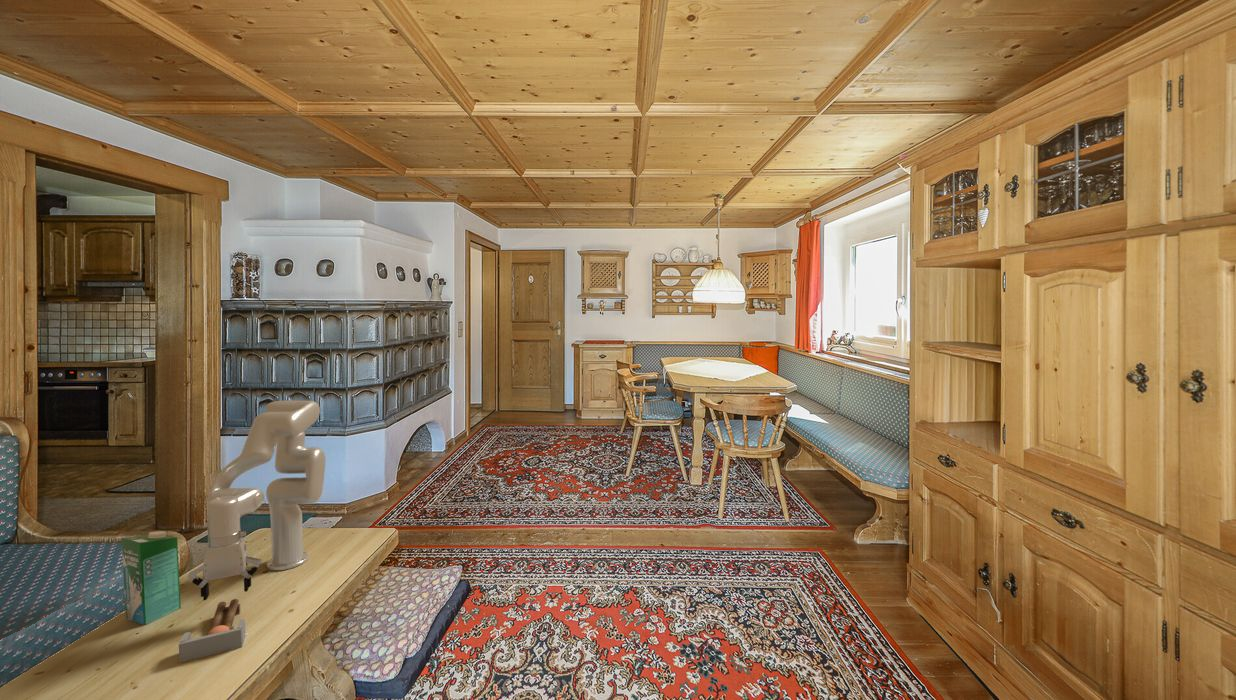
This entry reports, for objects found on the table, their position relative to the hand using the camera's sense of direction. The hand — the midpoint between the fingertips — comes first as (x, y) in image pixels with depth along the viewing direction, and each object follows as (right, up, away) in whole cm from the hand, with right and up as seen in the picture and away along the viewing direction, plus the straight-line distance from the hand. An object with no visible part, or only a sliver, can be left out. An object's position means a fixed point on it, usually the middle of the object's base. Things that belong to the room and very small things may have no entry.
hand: (226, 593), depth 144 cm
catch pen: (+8, -8, -14) cm, 18 cm away
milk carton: (-23, -7, +1) cm, 24 cm away
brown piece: (+2, -7, -3) cm, 8 cm away
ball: (+8, -6, -12) cm, 15 cm away
